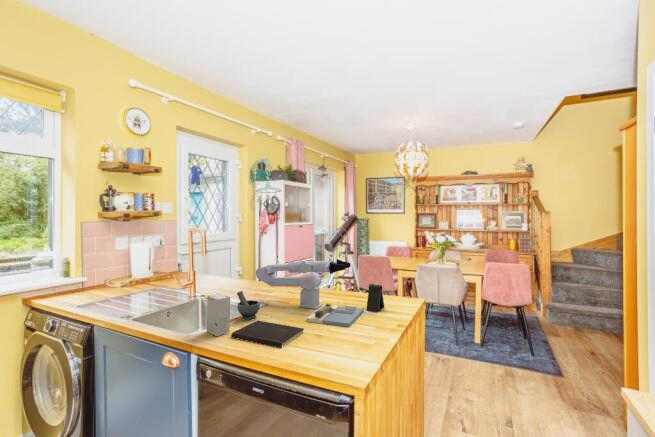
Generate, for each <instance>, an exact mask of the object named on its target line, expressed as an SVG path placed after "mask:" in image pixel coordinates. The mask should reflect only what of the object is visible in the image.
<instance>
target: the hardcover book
mask: <svg viewBox="0 0 655 437" xmlns="http://www.w3.org/2000/svg"><path fill="white" fill-rule="evenodd" d="M304 330H305V328H303V327H297V326H293V325H292V326H291V325H285V324H281V323H274V322H269V321H264V320H256V321H253V322H251V323H249V324H247V325H245V326H242V327H241V328H239V329H236V330H235V331H232V332H231V336H230V337H234V338H233V339H236V338H239V339H238V340H241V339H243V340H242V341H245V340H248V341H247V342H250V341H253V342H252V343H255V342H257V343H256V344H259V343H261V345H264V344H266V345H265V346H269V345H270V346H269V347H274V346H276V347H275V348H278V347H281V348H280V349H282V348H283V347H284V345H285V344H286V345H288V344H289V343H291V342H292V341H294V339H295V340H296V338H298V337H299V336H301V335H302V334H303V333H304ZM291 340H292V341H291ZM290 341H291V342H290ZM288 342H289V343H288ZM287 343H288V344H287ZM286 345H285V346H286ZM282 346H283V347H282Z"/></svg>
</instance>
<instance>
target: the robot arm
mask: <svg viewBox="0 0 655 437" xmlns="http://www.w3.org/2000/svg"><path fill="white" fill-rule="evenodd" d="M351 267H352V266H351V262H348V261H343V260H341V259H339V258H338V259H336V262H335V261H334V260H332V258H331V257H330V258H328V260H314V261H312V260H307V259H306V260H305V261H303V260H299V261H295V260H291V261H288V263H287V264H286V263H285V264H283V263H282V264H281V263H280V264H279V263H277V264H276V263H274V264H269V265H265V266H262V267H257V269H255V276H256V279H258V281H259V282H263V283H264V284H266V285H268V286H269V287H280V288H281V287H283V288H285V287H286V288H287V287H290V288H293V287H294V288H295V287H297V288H298V287H300V288H301V290H300V293H299V300H300V301H299V308H305V309H306V308H307V309H313V310H318V309H320V308H321V307H322V306H323V303H320V302H321V301H320V285H321V284H322V278H321V276H320V275H319V274H315V273H329V275H332V274H334V273H336V272H341V271H345V270H346V269H350V268H351ZM283 271H287V272H288V273H290V274H296V273H297V274H298V273H299V274H301V273H302V274H307V273H314V274H312V275H307V276H284V277H283V276H278V275H277V273H276V272H283Z"/></svg>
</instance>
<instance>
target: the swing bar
mask: <svg viewBox="0 0 655 437" xmlns="http://www.w3.org/2000/svg"><path fill="white" fill-rule="evenodd" d="M332 305H333V304H331V303H326V304H325V306H324V305H323V306H324V307H323V306H321V307H322V308H321V307H320V308H321V309H320V308H319V309H320V310H318V309H317V310H318V311H317V310H316V311H317V312H316V311H315V317H318V318H321V317H322V316H323V315H324V314H326V313H327V312H328V311H330V310H332Z"/></svg>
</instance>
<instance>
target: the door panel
mask: <svg viewBox="0 0 655 437" xmlns="http://www.w3.org/2000/svg"><path fill="white" fill-rule="evenodd" d="M363 313H364V308H362V307H361V308H359V307H357V306H356V305H350V304H349V305H348V304H346V305H345V306H344V305H342V306H341V305H339V307H338V308H337V309H336V310H335V311H333V312H332V313H331V314H330V315H328V316H327V317H326V318H325V319H323V323H322V325H331V326H337V327H346V328H350V327H351V326H352V325H353V324H354V323H355V322H356V321H357V320H358V318H360V317H361V315H362V314H363Z"/></svg>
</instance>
